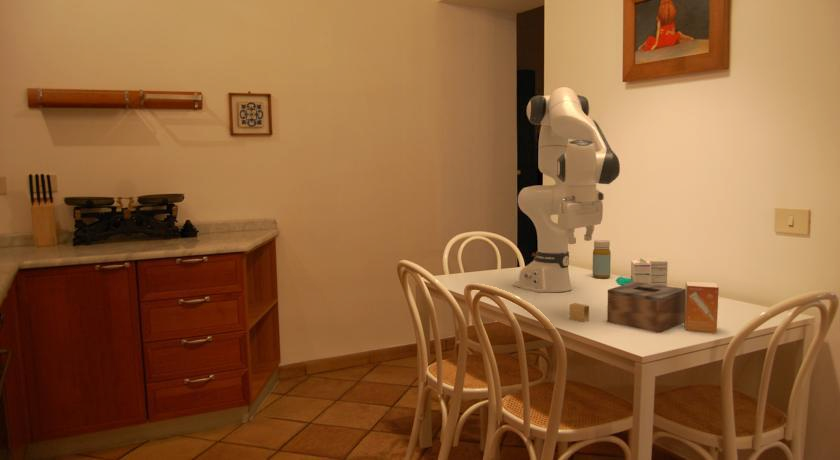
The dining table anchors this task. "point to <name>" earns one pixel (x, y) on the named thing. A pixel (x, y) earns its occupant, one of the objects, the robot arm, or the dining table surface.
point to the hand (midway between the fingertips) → (580, 242)
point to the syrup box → (641, 271)
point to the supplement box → (658, 271)
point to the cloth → (623, 280)
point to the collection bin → (646, 306)
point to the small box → (701, 306)
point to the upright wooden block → (579, 312)
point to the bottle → (601, 259)
